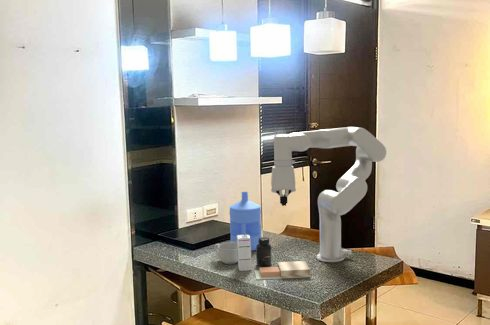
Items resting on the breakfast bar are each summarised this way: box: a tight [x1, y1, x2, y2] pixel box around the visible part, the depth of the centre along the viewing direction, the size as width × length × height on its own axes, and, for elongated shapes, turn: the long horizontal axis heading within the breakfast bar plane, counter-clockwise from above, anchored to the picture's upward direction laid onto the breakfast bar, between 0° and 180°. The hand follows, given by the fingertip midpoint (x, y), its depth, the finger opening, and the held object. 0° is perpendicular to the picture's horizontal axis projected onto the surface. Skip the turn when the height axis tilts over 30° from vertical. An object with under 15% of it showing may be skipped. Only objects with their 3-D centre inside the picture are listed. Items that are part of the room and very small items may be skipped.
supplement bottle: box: [255, 236, 273, 268], centre depth 220 cm, size 7×7×12 cm
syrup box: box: [237, 235, 253, 272], centre depth 215 cm, size 6×6×14 cm
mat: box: [253, 269, 311, 281], centre depth 208 cm, size 22×11×1 cm, turn 94°
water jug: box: [229, 191, 262, 252], centre depth 246 cm, size 16×16×28 cm
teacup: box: [213, 241, 238, 265], centre depth 226 cm, size 14×11×8 cm
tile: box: [259, 266, 280, 277], centre depth 207 cm, size 8×6×2 cm
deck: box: [277, 260, 311, 279], centre depth 208 cm, size 12×11×3 cm
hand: (283, 205), depth 216 cm, fingers closed
